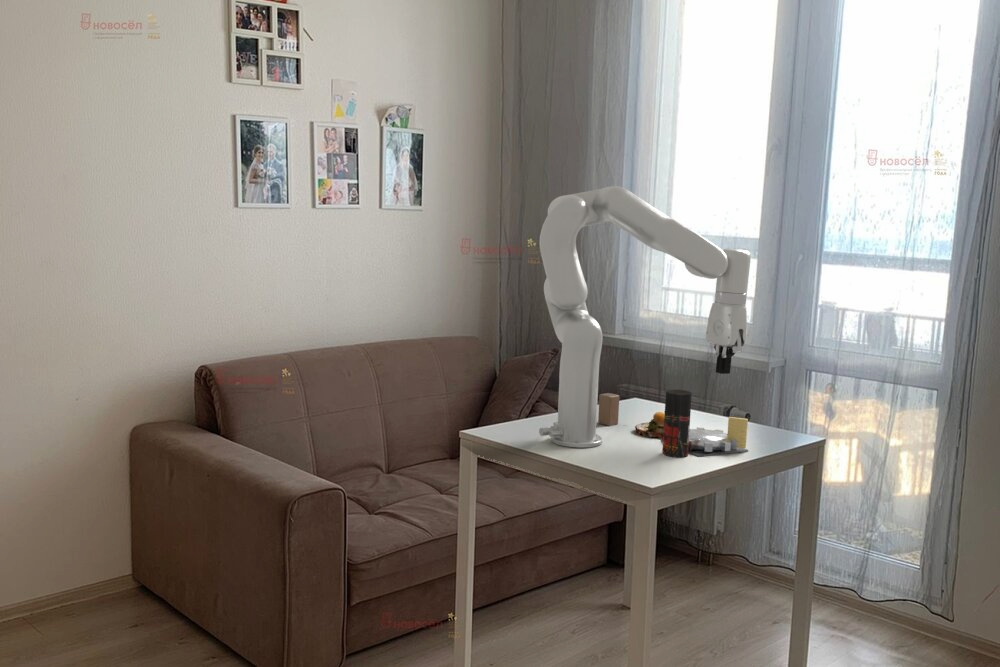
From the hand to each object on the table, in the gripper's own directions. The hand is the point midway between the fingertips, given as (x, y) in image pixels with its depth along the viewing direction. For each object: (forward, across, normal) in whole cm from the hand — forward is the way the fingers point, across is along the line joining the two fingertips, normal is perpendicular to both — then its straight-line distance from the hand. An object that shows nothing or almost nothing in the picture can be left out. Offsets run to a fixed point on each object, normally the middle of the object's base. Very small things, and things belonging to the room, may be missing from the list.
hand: (722, 372), depth 229 cm
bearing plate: (+18, +2, -6) cm, 19 cm away
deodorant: (+18, +6, -17) cm, 26 cm away
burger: (+19, -12, -9) cm, 24 cm away
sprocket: (+17, +3, -5) cm, 18 cm away
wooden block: (+19, -26, -16) cm, 35 cm away
